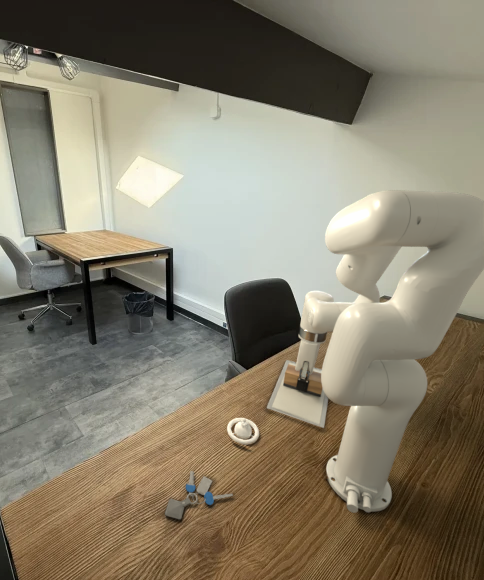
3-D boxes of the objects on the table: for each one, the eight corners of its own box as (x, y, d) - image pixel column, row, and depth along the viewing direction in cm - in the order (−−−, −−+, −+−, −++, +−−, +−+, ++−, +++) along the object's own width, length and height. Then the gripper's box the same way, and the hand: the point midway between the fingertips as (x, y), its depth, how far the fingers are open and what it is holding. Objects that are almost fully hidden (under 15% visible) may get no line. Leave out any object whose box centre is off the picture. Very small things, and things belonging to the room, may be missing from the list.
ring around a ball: (247, 420, 82) (220, 428, 79) (249, 403, 79) (222, 411, 76) (264, 443, 75) (236, 453, 72) (267, 426, 73) (239, 435, 70)
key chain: (168, 525, 56) (168, 522, 56) (155, 486, 63) (155, 483, 63) (233, 497, 61) (233, 494, 61) (215, 464, 68) (215, 461, 68)
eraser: (320, 397, 90) (323, 383, 88) (283, 385, 94) (285, 372, 93) (322, 387, 94) (325, 374, 92) (286, 377, 99) (288, 363, 97)
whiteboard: (323, 431, 79) (324, 428, 79) (265, 410, 85) (266, 407, 85) (331, 374, 103) (332, 372, 102) (286, 362, 109) (286, 359, 109)
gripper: (303, 319, 97) (295, 367, 103) (294, 342, 82) (285, 397, 88) (328, 324, 93) (318, 374, 100) (323, 350, 79) (312, 406, 85)
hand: (302, 384), depth 94 cm, fingers closed on eraser, 5 cm apart
